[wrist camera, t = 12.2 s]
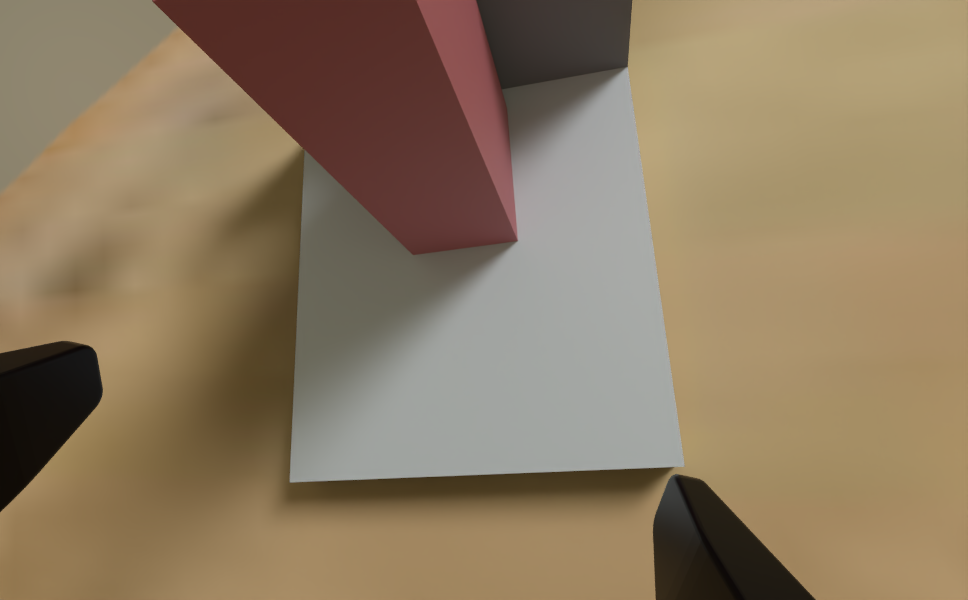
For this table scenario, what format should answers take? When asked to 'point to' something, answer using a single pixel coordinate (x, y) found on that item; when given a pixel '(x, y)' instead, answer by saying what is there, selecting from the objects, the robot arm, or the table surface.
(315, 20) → the tall pink rectangular prism
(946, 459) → the table surface
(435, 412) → the shelf
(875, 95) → the table surface
